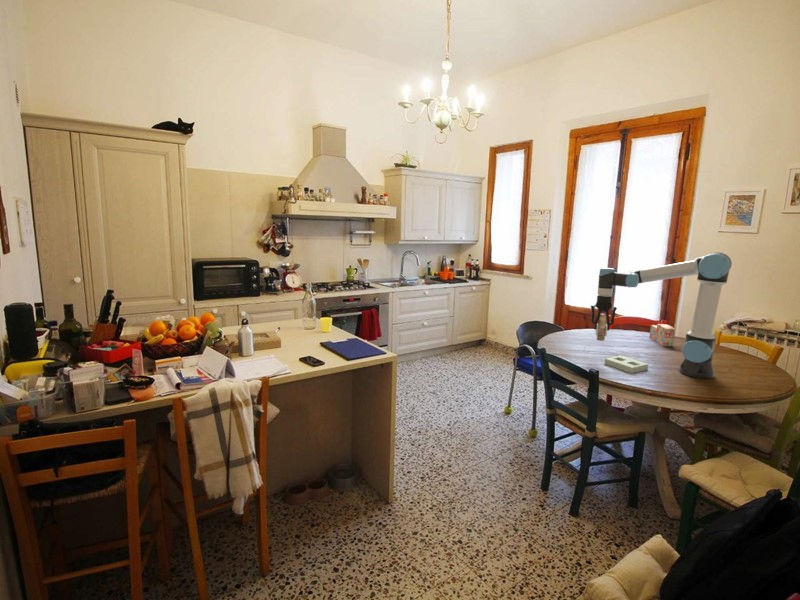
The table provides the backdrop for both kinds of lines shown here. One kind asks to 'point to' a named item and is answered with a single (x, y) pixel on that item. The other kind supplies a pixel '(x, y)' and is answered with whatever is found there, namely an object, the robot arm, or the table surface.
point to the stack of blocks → (662, 334)
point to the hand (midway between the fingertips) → (600, 335)
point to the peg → (601, 327)
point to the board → (626, 364)
